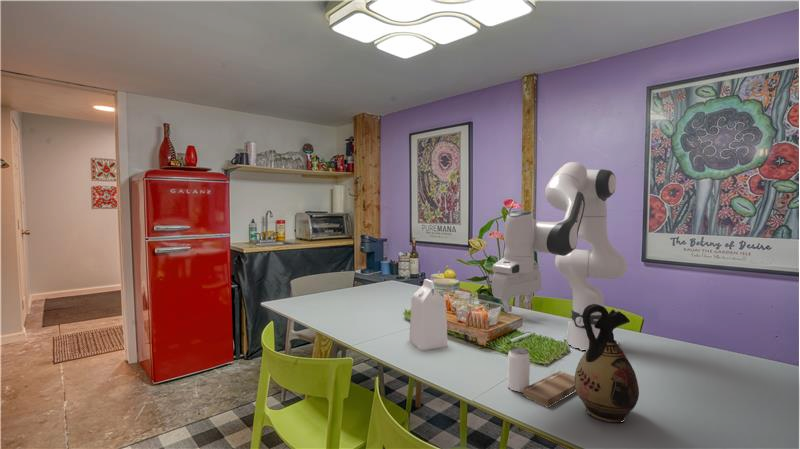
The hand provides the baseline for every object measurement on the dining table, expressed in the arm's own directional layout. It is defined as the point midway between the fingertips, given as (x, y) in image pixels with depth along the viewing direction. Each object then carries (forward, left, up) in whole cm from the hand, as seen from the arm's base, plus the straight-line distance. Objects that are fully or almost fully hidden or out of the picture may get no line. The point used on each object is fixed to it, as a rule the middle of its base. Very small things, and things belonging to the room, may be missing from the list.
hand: (517, 309), depth 116 cm
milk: (-3, -45, -25) cm, 52 cm away
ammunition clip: (-19, -33, -25) cm, 46 cm away
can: (-1, 0, -25) cm, 25 cm away
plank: (-8, +8, -25) cm, 28 cm away
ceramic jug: (-7, +23, -25) cm, 35 cm away
